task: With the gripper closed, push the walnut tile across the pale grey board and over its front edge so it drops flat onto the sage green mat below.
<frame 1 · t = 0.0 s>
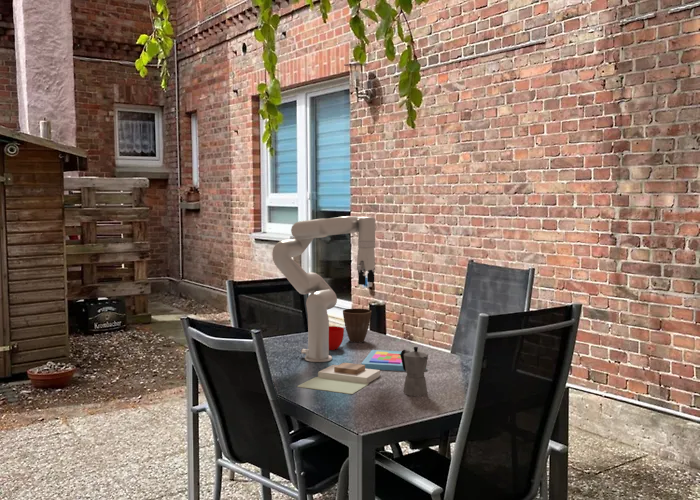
hand: (366, 283, 310), 37 cm above the table, tool pointing down, fingers open, 9 cm apart
plant pot: (356, 341, 364), on the table
tile: (349, 370, 292), point 2 cm above the table, touching board
ceramic cup: (332, 348, 348), on the table
coffeepot: (413, 392, 270), on the table
board: (349, 376, 292), on the table
mat: (333, 385, 279), on the table
tetris game: (397, 364, 317), on the table
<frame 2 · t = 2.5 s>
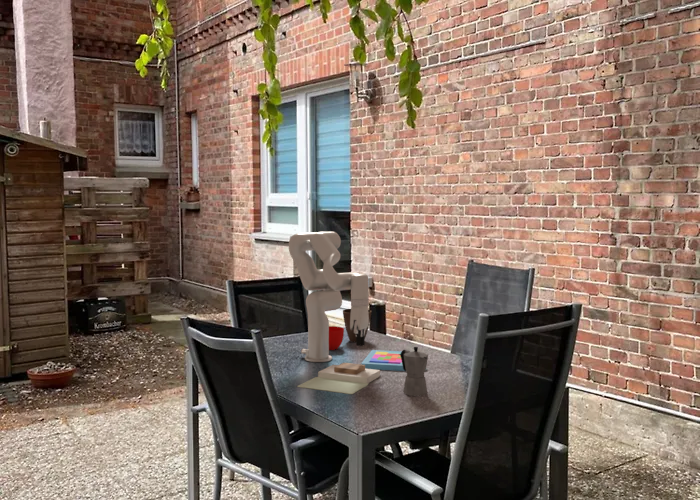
hand: (360, 345, 300), 12 cm above the table, tool pointing down, fingers closed
nothing on the table moved.
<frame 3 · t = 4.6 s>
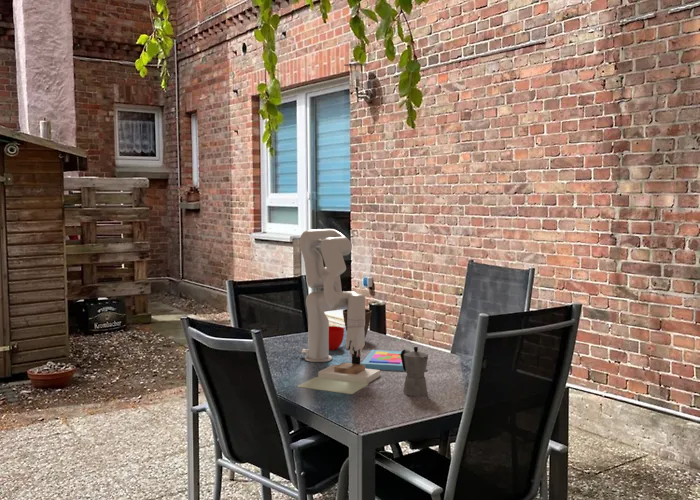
hand: (356, 365, 298), 3 cm above the table, tool pointing down, fingers closed
tile: (349, 370, 292), point 3 cm above the table, touching gripper
everything else where it was.
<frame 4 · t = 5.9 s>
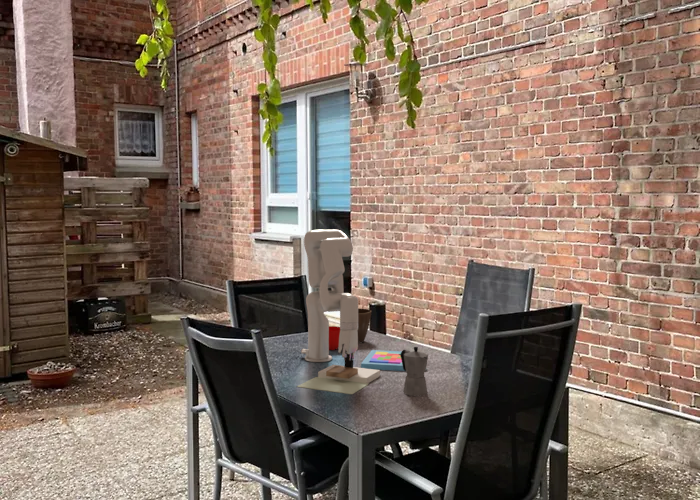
hand: (348, 369, 291), 3 cm above the table, tool pointing down, fingers closed
tile: (342, 374, 286), point 3 cm above the table, touching board, gripper
everything else where it was.
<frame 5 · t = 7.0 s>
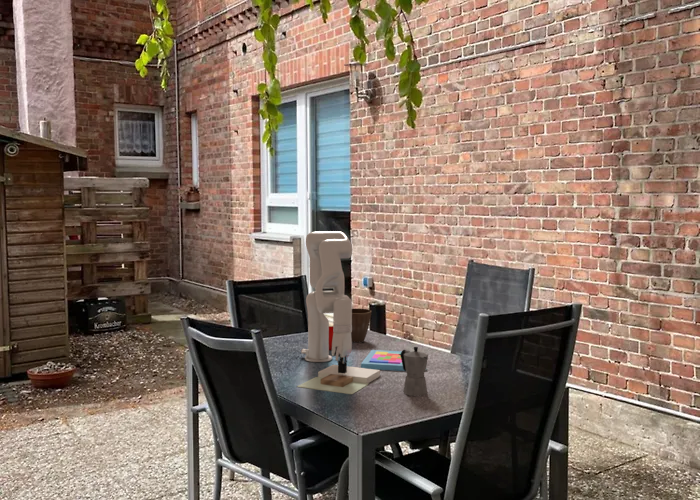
hand: (342, 372, 286), 3 cm above the table, tool pointing down, fingers closed
tile: (336, 382, 282), on the table, touching mat
everything else where it was.
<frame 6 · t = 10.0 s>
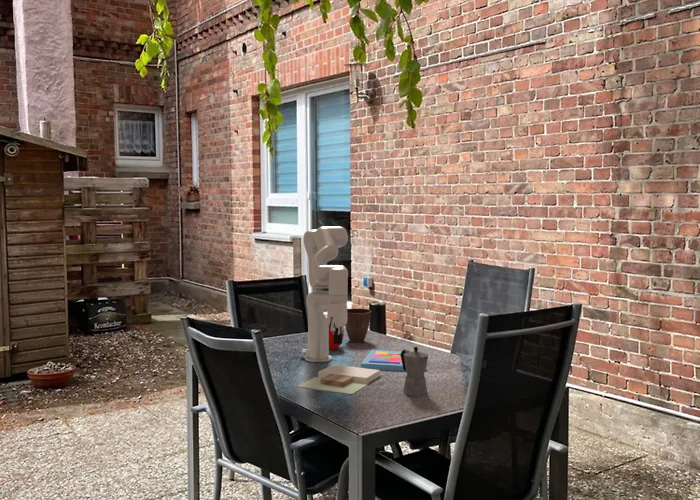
hand: (337, 343, 281), 16 cm above the table, tool pointing down, fingers closed
nothing on the table moved.
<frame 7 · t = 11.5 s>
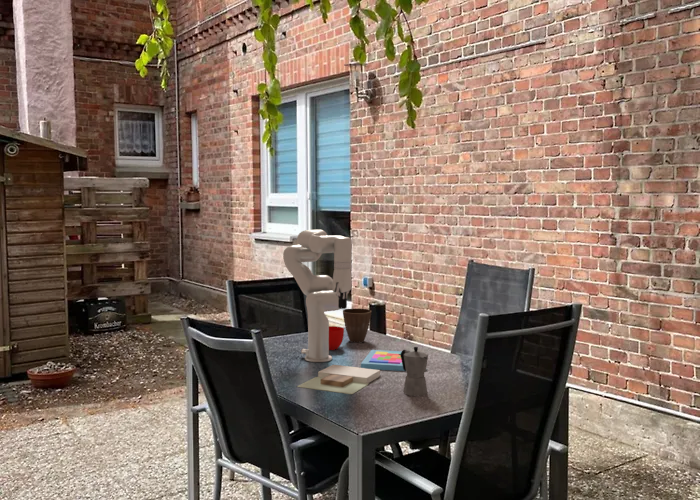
hand: (342, 307, 302), 27 cm above the table, tool pointing down, fingers closed
nothing on the table moved.
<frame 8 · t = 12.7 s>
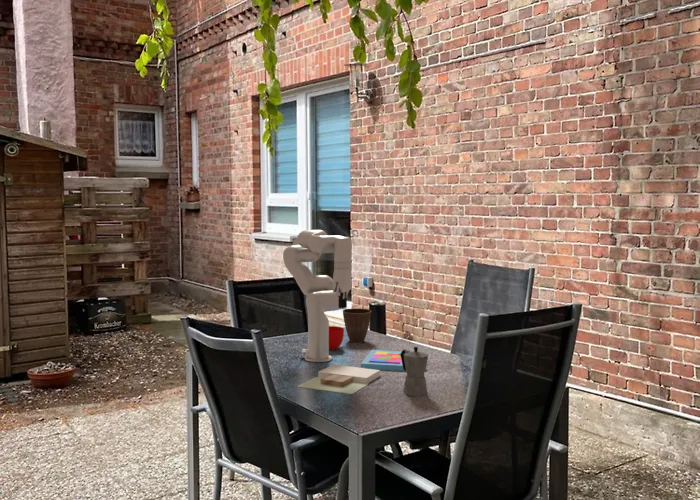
hand: (342, 307, 303), 27 cm above the table, tool pointing down, fingers closed
nothing on the table moved.
at the end: tile inside the target area (3.2 cm from its centre), on the table; tile tilted 0° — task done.
